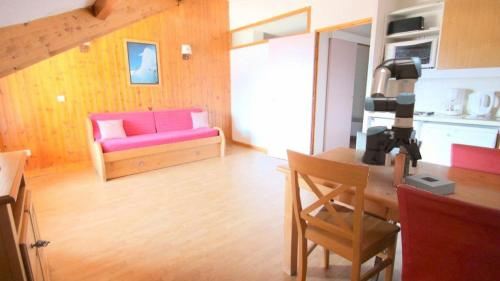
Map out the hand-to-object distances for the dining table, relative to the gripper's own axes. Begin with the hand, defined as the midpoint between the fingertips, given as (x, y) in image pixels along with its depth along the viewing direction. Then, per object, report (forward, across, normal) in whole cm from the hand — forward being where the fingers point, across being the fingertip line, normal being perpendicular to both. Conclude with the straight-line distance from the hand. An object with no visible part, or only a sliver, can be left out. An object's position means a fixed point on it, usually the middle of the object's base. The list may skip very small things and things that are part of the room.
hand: (399, 169), depth 125 cm
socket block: (+8, +9, +9) cm, 15 cm away
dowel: (+8, 0, 0) cm, 9 cm away
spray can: (+8, -10, +16) cm, 21 cm away
